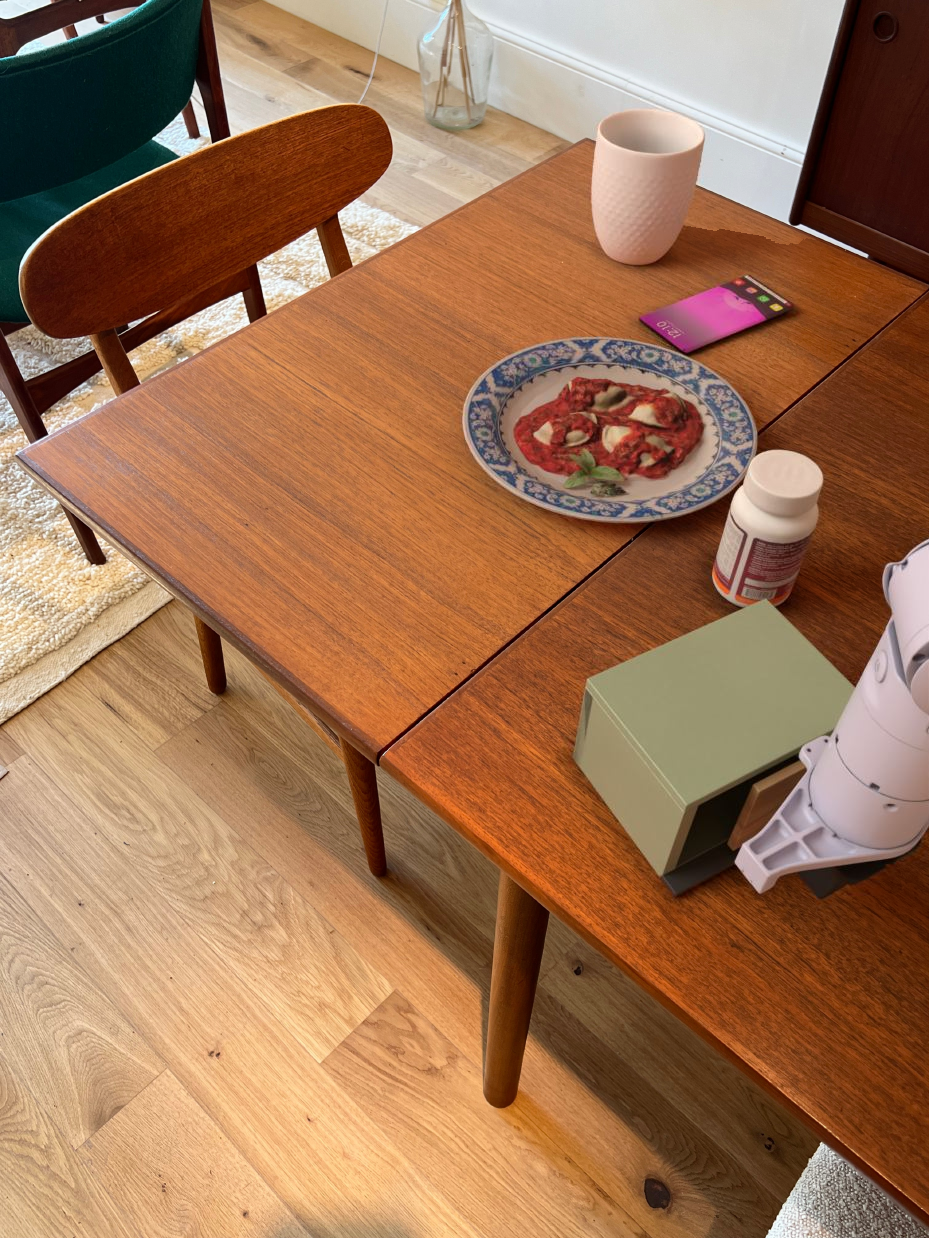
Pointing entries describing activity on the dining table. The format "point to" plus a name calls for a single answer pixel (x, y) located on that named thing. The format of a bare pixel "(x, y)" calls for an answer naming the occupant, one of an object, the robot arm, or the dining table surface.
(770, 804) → the sliding door
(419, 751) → the dining table surface
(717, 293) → the smartphone
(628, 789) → the cupboard
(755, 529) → the pill bottle
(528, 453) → the ceramic plate
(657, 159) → the mug
